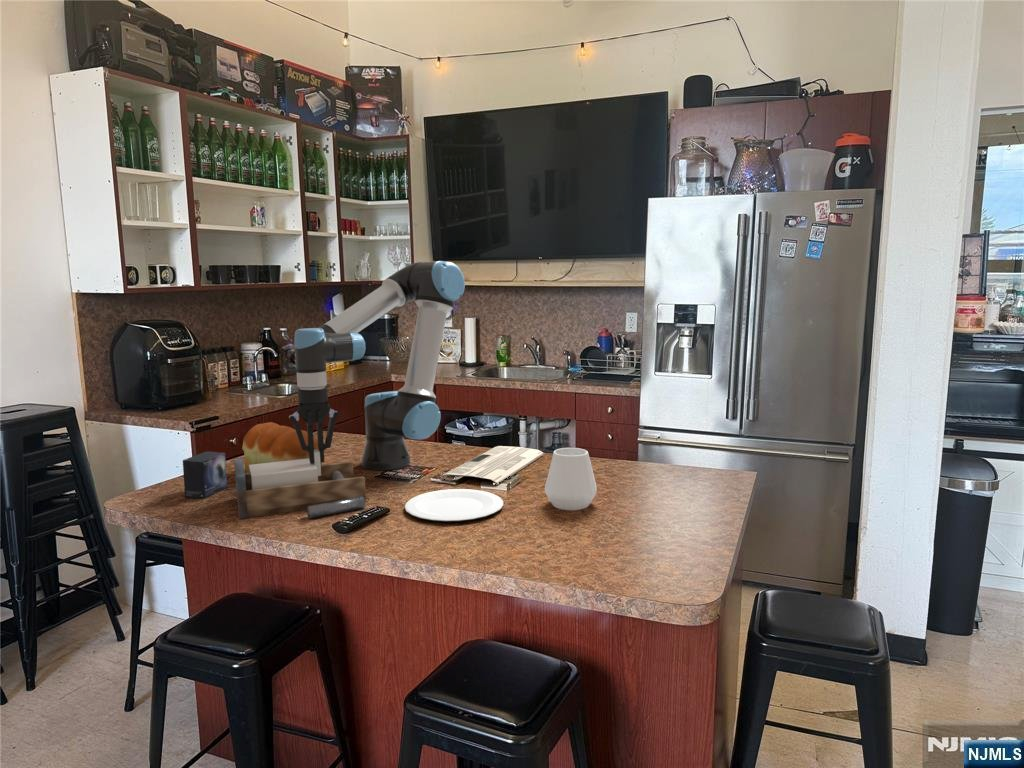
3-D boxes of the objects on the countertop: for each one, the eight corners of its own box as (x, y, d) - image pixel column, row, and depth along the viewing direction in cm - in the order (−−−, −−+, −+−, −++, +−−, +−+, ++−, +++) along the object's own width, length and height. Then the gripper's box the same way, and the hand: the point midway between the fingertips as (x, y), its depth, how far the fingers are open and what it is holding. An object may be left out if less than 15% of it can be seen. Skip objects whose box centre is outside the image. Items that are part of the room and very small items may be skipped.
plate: (386, 520, 168) (385, 513, 168) (432, 490, 191) (432, 484, 191) (480, 531, 159) (480, 524, 159) (517, 499, 183) (517, 493, 182)
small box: (205, 499, 185) (202, 461, 184) (183, 498, 186) (180, 460, 185) (228, 487, 195) (226, 451, 194) (208, 486, 197) (205, 450, 195)
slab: (312, 474, 190) (311, 458, 189) (318, 485, 179) (317, 468, 178) (250, 481, 183) (249, 464, 183) (252, 493, 173) (251, 476, 172)
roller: (361, 506, 178) (360, 494, 177) (365, 509, 175) (364, 497, 175) (306, 516, 170) (306, 504, 170) (310, 520, 167) (309, 508, 167)
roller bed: (353, 483, 198) (351, 447, 196) (365, 501, 181) (364, 462, 180) (237, 497, 186) (234, 460, 184) (239, 518, 169) (236, 477, 168)
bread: (324, 479, 203) (321, 430, 201) (285, 488, 194) (282, 437, 192) (281, 464, 220) (278, 419, 218) (243, 472, 211) (240, 425, 209)
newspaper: (494, 452, 234) (494, 444, 233) (548, 457, 226) (548, 449, 226) (441, 481, 200) (441, 472, 200) (502, 488, 193) (502, 479, 192)
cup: (601, 499, 181) (602, 447, 179) (590, 515, 169) (590, 459, 166) (552, 494, 185) (552, 443, 183) (538, 510, 173) (537, 455, 171)
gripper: (335, 383, 187) (340, 468, 190) (285, 387, 182) (290, 474, 185) (339, 387, 180) (344, 475, 183) (288, 391, 175) (293, 481, 178)
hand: (317, 474), depth 184 cm, fingers closed
